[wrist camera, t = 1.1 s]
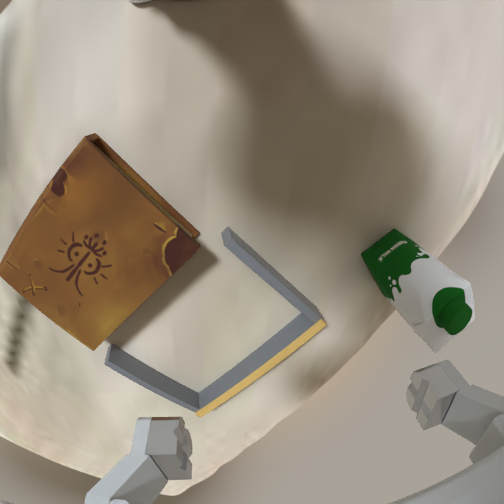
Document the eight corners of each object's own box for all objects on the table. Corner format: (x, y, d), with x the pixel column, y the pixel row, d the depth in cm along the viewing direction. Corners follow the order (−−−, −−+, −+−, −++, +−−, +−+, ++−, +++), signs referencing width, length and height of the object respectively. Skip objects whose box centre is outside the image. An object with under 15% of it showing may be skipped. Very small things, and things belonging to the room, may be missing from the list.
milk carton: (396, 220, 46) (484, 285, 28) (412, 259, 50) (487, 327, 32) (353, 253, 47) (429, 334, 29) (373, 289, 51) (440, 369, 33)
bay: (108, 347, 47) (103, 366, 43) (227, 226, 41) (232, 240, 37) (199, 398, 55) (200, 417, 51) (316, 307, 50) (326, 324, 46)
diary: (97, 132, 34) (82, 136, 28) (199, 230, 42) (200, 248, 37) (11, 253, 37) (-6, 272, 32) (100, 327, 45) (93, 351, 40)
